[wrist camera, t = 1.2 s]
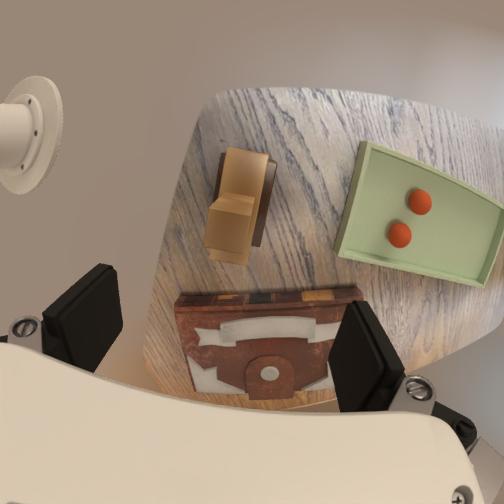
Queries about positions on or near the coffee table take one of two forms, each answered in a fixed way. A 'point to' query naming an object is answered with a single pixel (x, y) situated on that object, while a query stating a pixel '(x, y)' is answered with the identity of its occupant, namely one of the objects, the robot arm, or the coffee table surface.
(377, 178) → the tray
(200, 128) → the coffee table surface
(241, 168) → the wooden block
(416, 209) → the orange ball
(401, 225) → the orange-red sphere
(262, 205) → the stand
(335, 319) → the book
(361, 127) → the coffee table surface
